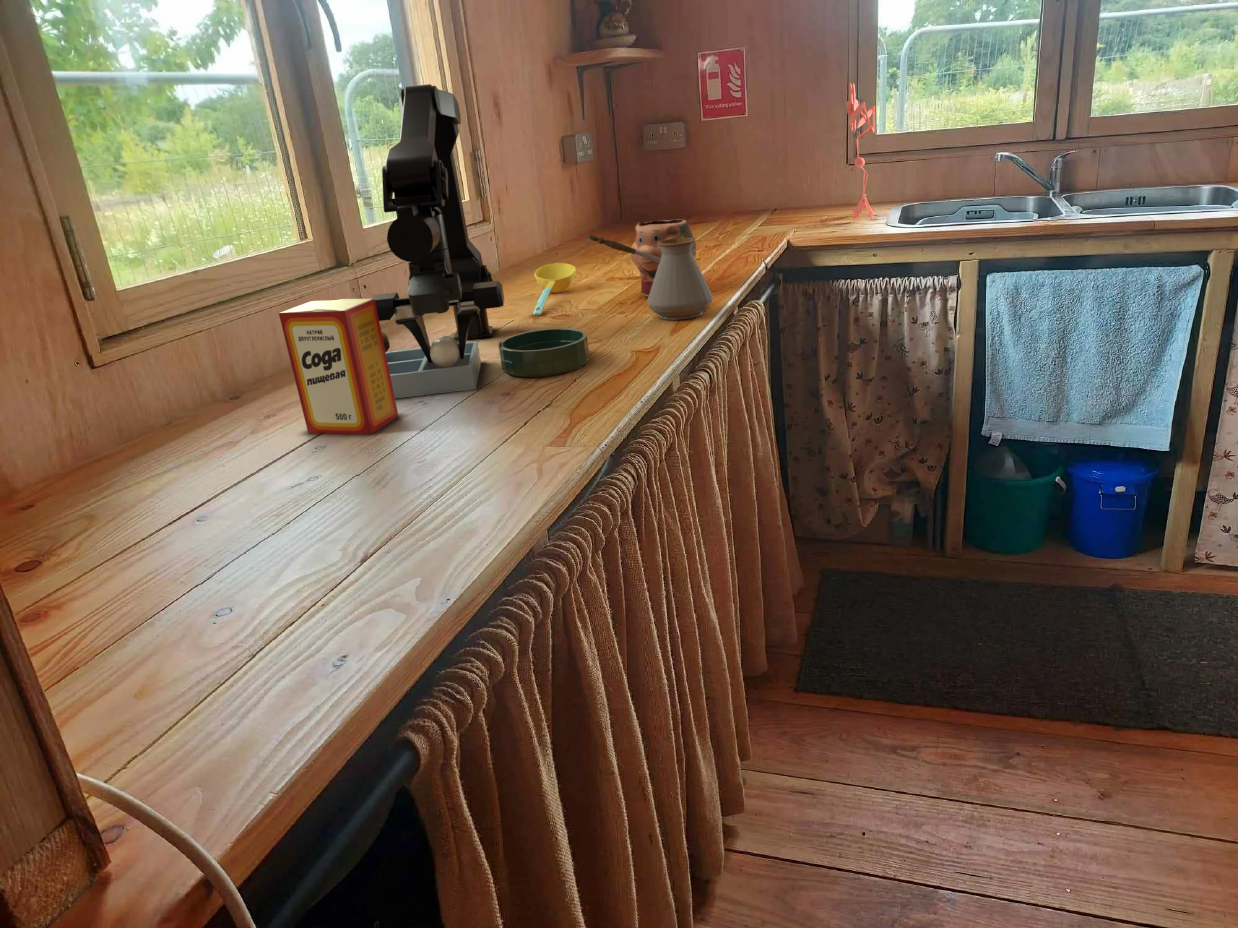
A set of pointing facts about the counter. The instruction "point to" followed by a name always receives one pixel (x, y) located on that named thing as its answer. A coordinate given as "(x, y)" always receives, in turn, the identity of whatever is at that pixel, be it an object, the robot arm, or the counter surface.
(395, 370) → the divided tray
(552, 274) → the ladle
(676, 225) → the decorative planter
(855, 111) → the figurine
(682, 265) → the coffee pot
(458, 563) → the counter surface
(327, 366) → the baking soda box
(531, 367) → the bowl
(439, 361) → the egg
